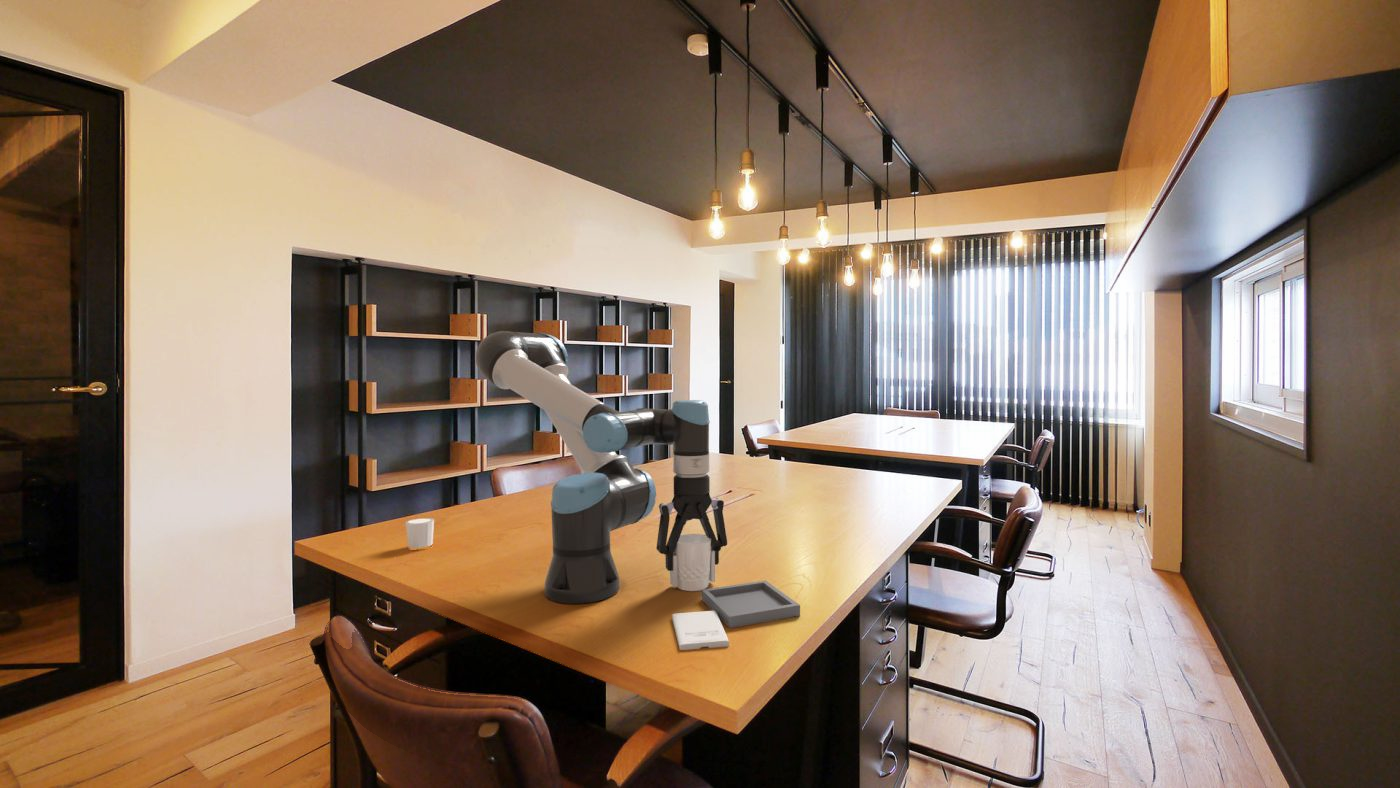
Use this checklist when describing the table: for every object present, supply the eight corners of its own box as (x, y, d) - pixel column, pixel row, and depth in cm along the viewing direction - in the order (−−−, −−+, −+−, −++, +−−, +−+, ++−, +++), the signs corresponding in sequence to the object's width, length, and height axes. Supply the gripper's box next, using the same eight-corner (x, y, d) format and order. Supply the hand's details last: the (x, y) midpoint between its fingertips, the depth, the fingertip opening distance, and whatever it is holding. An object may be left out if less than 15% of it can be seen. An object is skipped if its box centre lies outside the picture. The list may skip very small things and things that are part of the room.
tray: (729, 627, 106) (729, 616, 106) (701, 599, 119) (701, 589, 119) (800, 615, 111) (800, 605, 111) (765, 590, 124) (765, 580, 124)
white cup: (707, 593, 122) (707, 544, 122) (669, 591, 124) (669, 543, 123) (714, 580, 130) (714, 534, 129) (678, 578, 131) (678, 532, 131)
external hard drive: (716, 618, 111) (729, 649, 99) (672, 622, 110) (679, 653, 98) (716, 610, 111) (729, 639, 99) (671, 613, 110) (679, 643, 98)
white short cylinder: (400, 550, 154) (399, 523, 154) (417, 543, 161) (416, 517, 160) (424, 551, 153) (423, 524, 153) (440, 544, 160) (439, 517, 159)
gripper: (648, 481, 119) (650, 595, 120) (743, 473, 126) (744, 581, 127) (639, 474, 126) (640, 583, 127) (729, 468, 133) (730, 570, 134)
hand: (692, 582), depth 127 cm, fingers closed on white cup, 8 cm apart
